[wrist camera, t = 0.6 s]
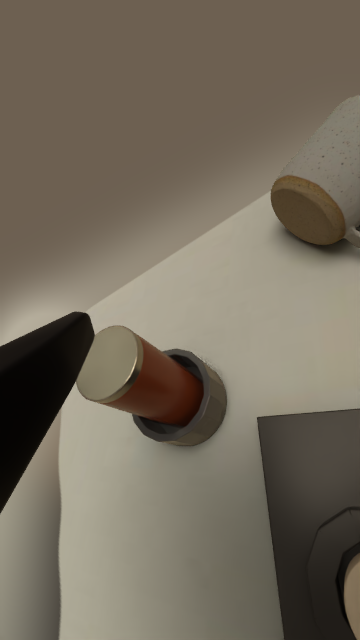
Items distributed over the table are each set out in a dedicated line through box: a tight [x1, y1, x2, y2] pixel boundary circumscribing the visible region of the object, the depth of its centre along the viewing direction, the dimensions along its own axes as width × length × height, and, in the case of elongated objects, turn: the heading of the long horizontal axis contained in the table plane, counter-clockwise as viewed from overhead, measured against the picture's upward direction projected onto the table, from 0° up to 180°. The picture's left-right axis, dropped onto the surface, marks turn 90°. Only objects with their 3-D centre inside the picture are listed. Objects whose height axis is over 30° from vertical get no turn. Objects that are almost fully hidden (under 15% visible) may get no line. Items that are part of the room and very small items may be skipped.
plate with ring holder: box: [257, 409, 360, 640], centre depth 14 cm, size 12×8×4 cm
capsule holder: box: [132, 349, 227, 446], centre depth 22 cm, size 7×7×4 cm
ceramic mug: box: [271, 95, 360, 248], centre depth 21 cm, size 11×8×8 cm
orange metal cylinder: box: [76, 326, 204, 429], centre depth 19 cm, size 4×4×10 cm
